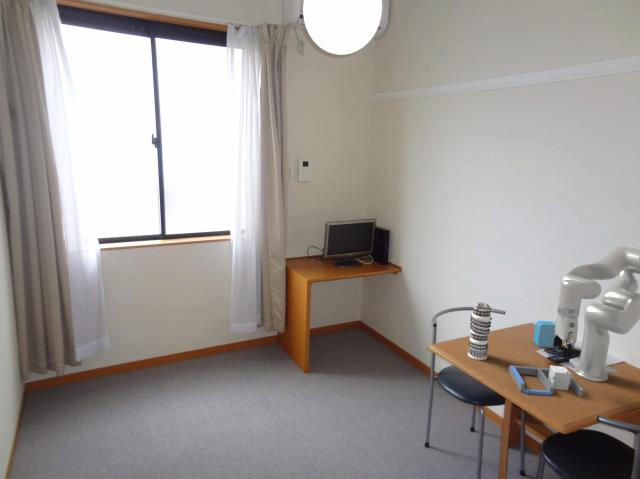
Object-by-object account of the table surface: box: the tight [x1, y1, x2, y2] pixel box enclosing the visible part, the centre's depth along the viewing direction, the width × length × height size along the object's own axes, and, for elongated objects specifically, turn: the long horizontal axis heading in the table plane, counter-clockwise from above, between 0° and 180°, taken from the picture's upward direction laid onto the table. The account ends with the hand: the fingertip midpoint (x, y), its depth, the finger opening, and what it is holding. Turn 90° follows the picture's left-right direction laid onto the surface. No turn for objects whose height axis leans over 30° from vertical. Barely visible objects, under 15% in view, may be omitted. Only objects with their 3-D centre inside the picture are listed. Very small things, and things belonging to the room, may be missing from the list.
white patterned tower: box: [467, 302, 493, 361], centre depth 203 cm, size 9×9×25 cm
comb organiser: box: [508, 365, 585, 398], centre depth 181 cm, size 23×17×4 cm
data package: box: [533, 320, 556, 349], centre depth 217 cm, size 12×4×12 cm, turn 89°
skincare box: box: [547, 365, 572, 391], centre depth 180 cm, size 6×6×7 cm
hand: (561, 351), depth 177 cm, fingers open, 9 cm apart
